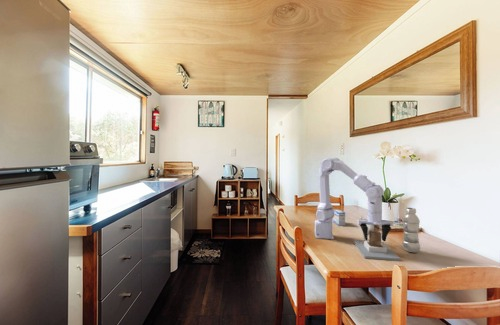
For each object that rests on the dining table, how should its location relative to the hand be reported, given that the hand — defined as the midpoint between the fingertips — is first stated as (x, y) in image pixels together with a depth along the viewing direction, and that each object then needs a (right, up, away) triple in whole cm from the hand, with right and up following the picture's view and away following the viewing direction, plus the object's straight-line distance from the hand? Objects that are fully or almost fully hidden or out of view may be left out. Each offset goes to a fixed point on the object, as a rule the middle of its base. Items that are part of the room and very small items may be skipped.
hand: (374, 240), depth 103 cm
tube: (+14, -5, +30) cm, 34 cm away
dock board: (0, -5, 0) cm, 5 cm away
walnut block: (0, -4, 0) cm, 4 cm away
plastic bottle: (+16, -5, -1) cm, 17 cm away
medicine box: (0, -4, +42) cm, 42 cm away
